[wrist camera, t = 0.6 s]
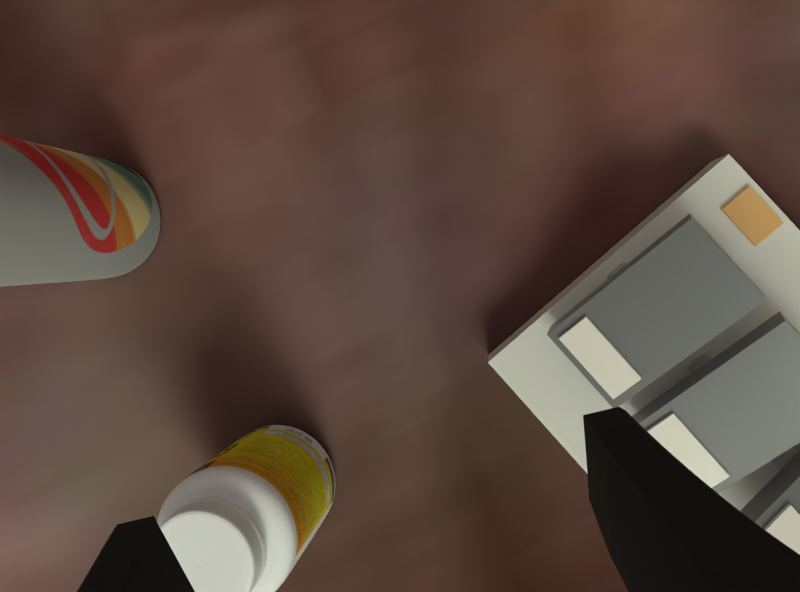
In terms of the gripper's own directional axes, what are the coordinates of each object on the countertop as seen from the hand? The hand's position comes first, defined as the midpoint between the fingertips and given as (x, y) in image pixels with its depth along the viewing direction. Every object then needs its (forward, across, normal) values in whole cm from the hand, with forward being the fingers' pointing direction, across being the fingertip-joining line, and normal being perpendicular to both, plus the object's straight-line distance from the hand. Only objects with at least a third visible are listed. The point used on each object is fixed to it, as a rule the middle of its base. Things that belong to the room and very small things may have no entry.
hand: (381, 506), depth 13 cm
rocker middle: (+13, -13, +13) cm, 22 cm away
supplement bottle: (+18, +6, +16) cm, 25 cm away
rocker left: (+15, -11, +9) cm, 21 cm away
